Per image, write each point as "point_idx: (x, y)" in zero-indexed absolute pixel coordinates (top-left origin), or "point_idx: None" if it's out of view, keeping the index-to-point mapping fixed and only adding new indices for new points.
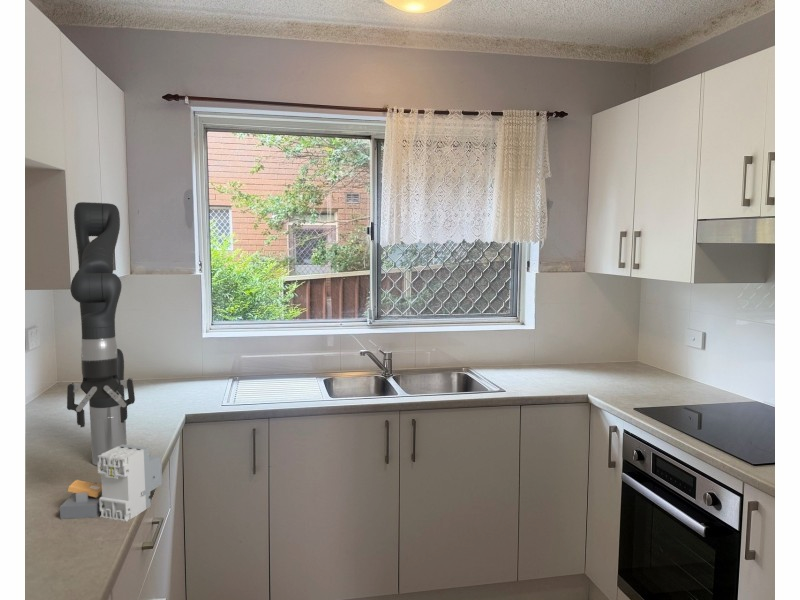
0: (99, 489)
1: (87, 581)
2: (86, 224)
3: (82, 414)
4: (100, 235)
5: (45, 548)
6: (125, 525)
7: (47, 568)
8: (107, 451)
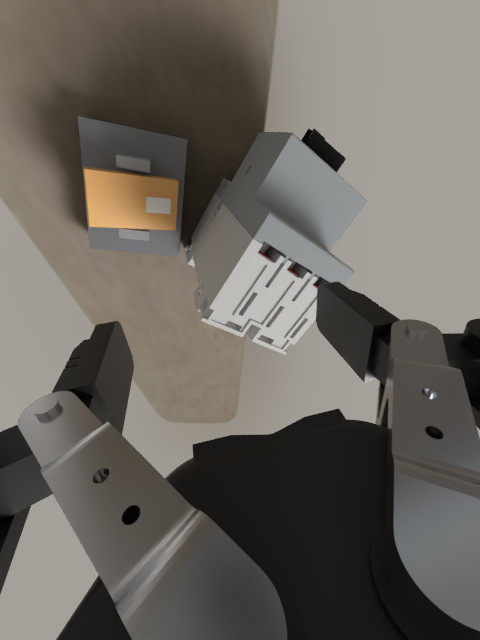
0: (172, 210)
1: (218, 408)
2: None
3: (120, 424)
4: None
5: (128, 342)
6: None
7: (158, 386)
8: (224, 287)
